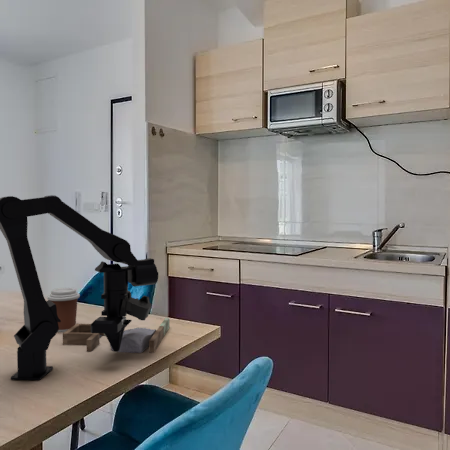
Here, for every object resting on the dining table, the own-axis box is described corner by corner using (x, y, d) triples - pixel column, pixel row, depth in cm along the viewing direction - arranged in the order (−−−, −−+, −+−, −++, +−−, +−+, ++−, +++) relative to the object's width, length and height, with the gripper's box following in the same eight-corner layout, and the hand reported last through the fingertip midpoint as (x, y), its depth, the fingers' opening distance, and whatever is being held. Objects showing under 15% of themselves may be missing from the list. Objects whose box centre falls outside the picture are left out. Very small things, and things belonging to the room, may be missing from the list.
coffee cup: (86, 326, 127) (86, 288, 127) (65, 334, 118) (65, 293, 118) (62, 323, 130) (62, 286, 130) (41, 331, 122) (40, 291, 121)
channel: (153, 352, 104) (153, 340, 104) (54, 350, 105) (54, 339, 105) (169, 327, 126) (169, 317, 126) (87, 326, 127) (87, 316, 127)
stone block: (107, 358, 105) (143, 353, 103) (104, 340, 105) (140, 334, 103) (127, 345, 117) (160, 340, 115) (124, 328, 117) (157, 323, 115)
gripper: (138, 297, 91) (139, 366, 92) (156, 282, 110) (156, 339, 110) (89, 296, 91) (90, 365, 92) (115, 281, 110) (116, 339, 111)
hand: (116, 351), depth 101 cm, fingers closed
